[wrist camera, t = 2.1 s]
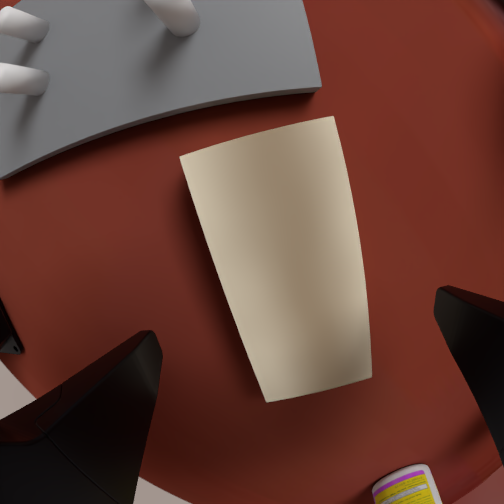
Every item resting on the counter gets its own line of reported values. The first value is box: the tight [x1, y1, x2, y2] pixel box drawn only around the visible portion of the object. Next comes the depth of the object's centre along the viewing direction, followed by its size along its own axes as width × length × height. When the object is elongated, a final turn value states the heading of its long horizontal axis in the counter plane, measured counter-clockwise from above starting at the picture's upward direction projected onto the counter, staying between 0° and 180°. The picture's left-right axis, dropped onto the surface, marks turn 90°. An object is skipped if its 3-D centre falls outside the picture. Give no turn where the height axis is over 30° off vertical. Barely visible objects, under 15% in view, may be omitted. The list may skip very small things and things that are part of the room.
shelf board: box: [180, 116, 372, 402], centre depth 12 cm, size 5×11×3 cm, turn 16°
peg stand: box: [0, 0, 322, 180], centre depth 7 cm, size 16×10×4 cm, turn 99°
